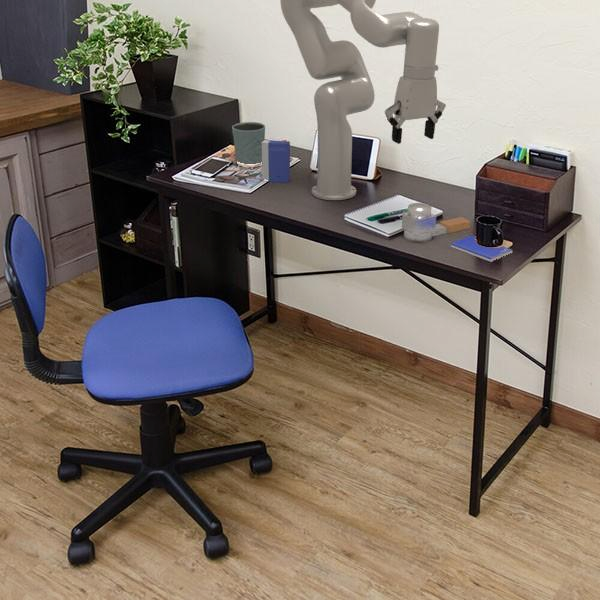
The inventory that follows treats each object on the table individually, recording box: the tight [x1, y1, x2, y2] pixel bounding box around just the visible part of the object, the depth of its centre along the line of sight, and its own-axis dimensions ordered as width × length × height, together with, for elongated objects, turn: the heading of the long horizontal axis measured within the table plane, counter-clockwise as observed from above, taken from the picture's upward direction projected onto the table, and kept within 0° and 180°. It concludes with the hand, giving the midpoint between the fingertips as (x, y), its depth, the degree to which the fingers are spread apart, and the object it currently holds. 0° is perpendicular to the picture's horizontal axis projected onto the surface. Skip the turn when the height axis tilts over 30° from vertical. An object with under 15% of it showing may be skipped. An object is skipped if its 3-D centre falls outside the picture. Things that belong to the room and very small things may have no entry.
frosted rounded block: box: [401, 202, 437, 235], centre depth 231 cm, size 6×6×6 cm
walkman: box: [261, 139, 291, 183], centre depth 270 cm, size 8×3×12 cm, turn 79°
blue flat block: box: [450, 235, 513, 263], centre depth 225 cm, size 2×8×12 cm
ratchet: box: [403, 216, 471, 243], centre depth 234 cm, size 18×7×5 cm, turn 119°
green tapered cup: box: [231, 121, 266, 164], centre depth 284 cm, size 10×10×12 cm
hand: (412, 139), depth 232 cm, fingers open, 9 cm apart
